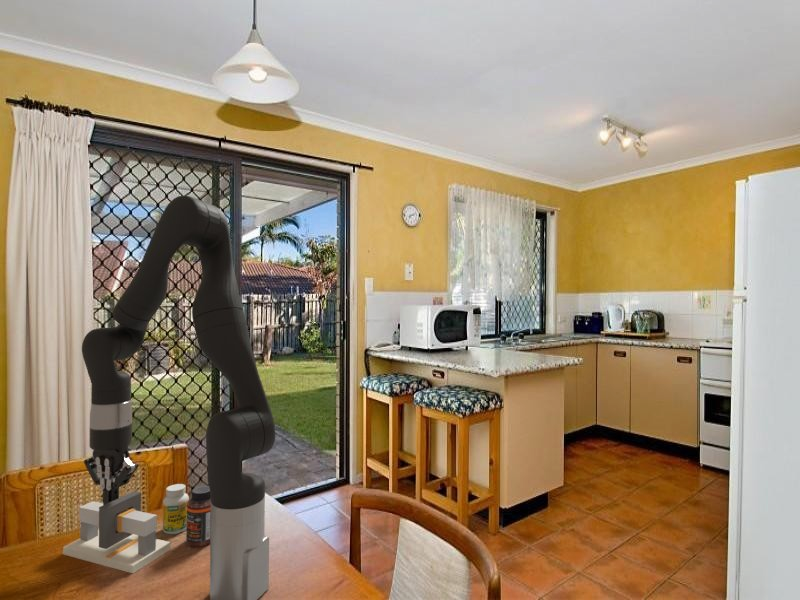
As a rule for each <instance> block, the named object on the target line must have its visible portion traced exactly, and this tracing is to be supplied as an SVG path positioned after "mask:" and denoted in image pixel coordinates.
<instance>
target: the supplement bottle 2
mask: <svg viewBox="0 0 800 600" xmlns="http://www.w3.org/2000/svg"><path fill="white" fill-rule="evenodd" d="M210 519H211V493H210V489H209V485H201V486H196V487H195V488H193V489H191V498H189V501H188V503H187V529H186V530H185V531H186V537H185V538H186V539H185V540H186V543H187V545H188V546H190V547H203V546H206V545H209V544H210Z"/></svg>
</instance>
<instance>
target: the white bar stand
mask: <svg viewBox="0 0 800 600" xmlns="http://www.w3.org/2000/svg"><path fill="white" fill-rule="evenodd" d="M101 506H103V502H98V501H93V500H92V501H90V502H88V503H86V504H83V505H81V506H79V508H78V510H79V511H78V513H79V515H78V518H79V519H78V521H79V523H80V538H78V539H76V540H75V541H72V542H70V543H68V544H67V545H64V546H63V547H62V554H63V555H64V556H68V557H72V558H75V559H79V560H82V561H85V562H90V563H93V564H97V565H100V566H105V567H107V568H112V569H116V570H120V571H123V572H127V573H130V574H135V573H136V572H138V571H139V570H141V569H143V568H144V567H146V566H147V565H148V564H150V563H152V562H153V561H155V560H156V559H158V558H160V557H161V556H162V555H164V554H166V553H167V552H168V551H170V550H171V541H167V540H164V539H158V538H157V530H158V514H155V513H154V514H153V513H150V512H145V511H142V510H141V511H136V509H126V510H124V511H122V512H120V513H117V514H116V529H115V530H118V532H126V533H131V534H132V535H131V536H129V537H127V538H125V539H123V540H122V541H120V542H118V543H116V544H114V545H113V546H111V547H109V548H107V549H104V548H100V547H99V507H101Z"/></svg>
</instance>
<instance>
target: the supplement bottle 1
mask: <svg viewBox="0 0 800 600" xmlns="http://www.w3.org/2000/svg"><path fill="white" fill-rule="evenodd" d="M186 491H187V490H186V484H183V483H175V484H172V485H169V486H167V487H166V489H165V495H166V496H165V497H164V499H163V501H162V531H163V532H164V533H165V534H167V535H176V534H180V533H183V532H184V531H186V529H187V503H188V501H189V500H190V497H189V494H188V493H186Z"/></svg>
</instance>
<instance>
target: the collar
mask: <svg viewBox="0 0 800 600" xmlns="http://www.w3.org/2000/svg"><path fill="white" fill-rule="evenodd" d="M126 509H136V511H141V512H142V492H140V491H132V492H131V491H130V492H129V493H127V494H125V495H122V496H121V497H120V496H119V498H118V499H116V500H114V501H112V502H109V503H107V504H105V505H103V506H101V507H99V526H98V529H99V547H100V548H104V549H107V548H109V547H111V546H113V545H114V544H116V543H118V542H120V541H122V540H123V539H125V538H127V537H129V536H131V535H132V534H131V533H126V532H118V530H115V529H116V514H117V513H120V512H122V511H124V510H126Z"/></svg>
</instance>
